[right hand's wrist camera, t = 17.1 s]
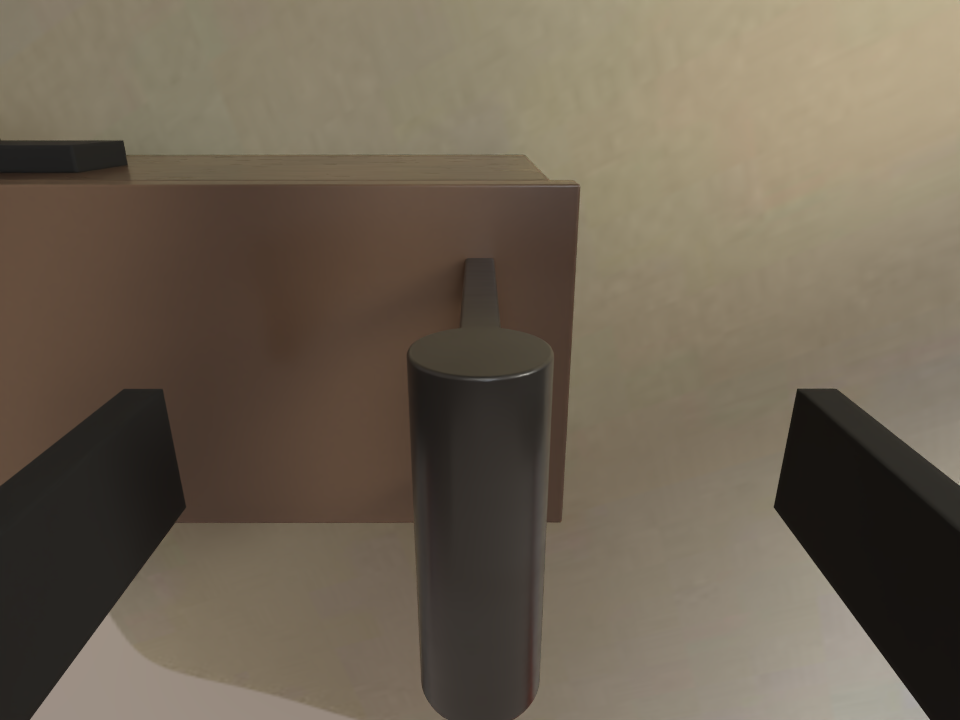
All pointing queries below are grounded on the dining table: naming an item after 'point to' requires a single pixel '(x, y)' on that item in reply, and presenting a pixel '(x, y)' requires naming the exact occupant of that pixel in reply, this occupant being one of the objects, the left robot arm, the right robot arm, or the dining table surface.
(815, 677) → the dining table surface
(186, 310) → the lid
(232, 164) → the chest
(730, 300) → the dining table surface
